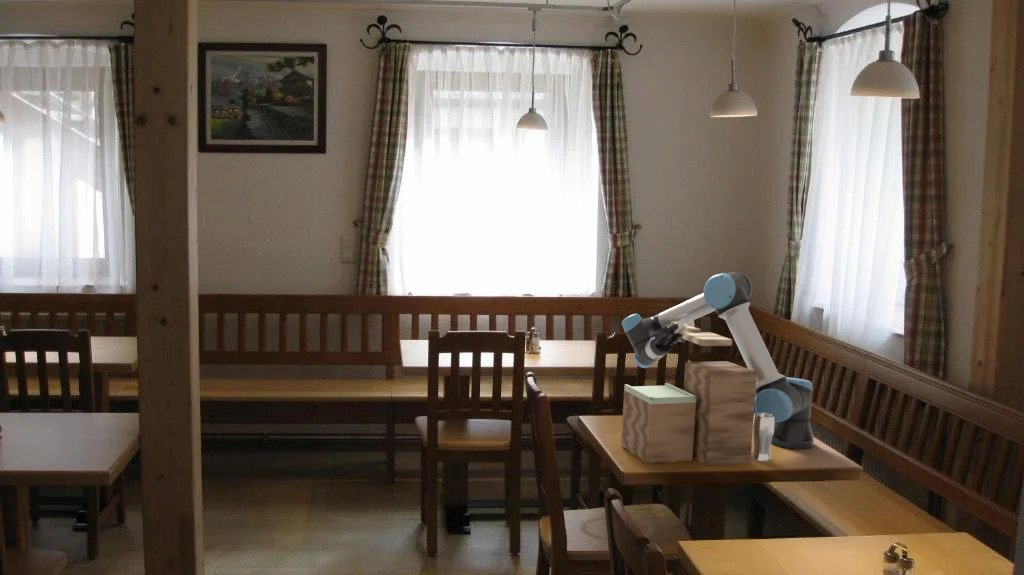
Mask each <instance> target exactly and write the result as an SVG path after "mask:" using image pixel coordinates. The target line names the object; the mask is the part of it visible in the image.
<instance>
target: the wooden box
mask: <svg viewBox="0 0 1024 575" xmlns="http://www.w3.org/2000/svg"><path fill="white" fill-rule="evenodd" d="M623 390H624V389H623ZM695 408H696V402H694V403H667V404H650V403H648V402H646V401H644V400H642V399H640V398H638V397H636V396H634V395H632V394H630V393H628V392H627V391H625V390H624V391H623V408H622V426H621V440H620V441H621V444H620V447H621V448H623V449H624V448H625V449H624V450H626V451H627V450H628V452H629V453H630V452H631V453H630V454H632V453H633V454H634V455H633V454H632V455H633V456H635V455H636V456H637V457H636V456H635V457H636V458H638V457H639V459H640V458H641V459H642V460H641V459H640V460H641V461H643V460H644V461H645V462H644V461H643V462H644V463H646V462H647V463H646V464H655V463H654V462H665V463H674V462H673V461H682V462H691V461H690V460H692V461H693V458H692V455H693V439H694V424H695ZM671 461H672V462H671Z"/></svg>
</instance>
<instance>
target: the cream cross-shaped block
mask: <svg viewBox="0 0 1024 575" xmlns="http://www.w3.org/2000/svg"><path fill="white" fill-rule="evenodd" d="M676 323H677V322H671V326H673V325H674V324H676ZM677 333H679V334H682V339H685V341H688V342H690V343H693V344H696V345H698V346H701V347H731V346H733V345H732V344H733V339H732V338H728V337H725V336H723V335H720V334H717V333H714V332H711V331H710V332H709V331H707V332H705V331H703V332H702V328H699V327H693V326H690V325H687V324H685V327H684V328H682V329H681V330H680V331H679V332H677Z"/></svg>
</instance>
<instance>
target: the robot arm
mask: <svg viewBox="0 0 1024 575" xmlns="http://www.w3.org/2000/svg"><path fill="white" fill-rule="evenodd" d="M752 293H753V283H752V281H751V279H750V278H749V276H747V275H746V274H745V273H743V272H739V271H732V272H721V273H718V274H715V275H713V276H711V277H709V278H708V279H707V281H706V282H705V284H704V287H703V292H702V293H701V294H698V295H696V296H694V297H692V298H690V299H687V300H686V301H683V302H682V303H680V304H678V305H675V306H673V307H670V308H669V309H666V310H664V311H662V312H660V313H658V314H655V315H653V316H651V317H647V318H643V317H641V315H640V314H638V313H632V314H631V315H629V316H626V317H625V318H624V319H623V320H622V321H621V325H622V328H623V330H624V333H625V334H626V336H627V338H628V340H629V342H630V344H631V347H632V348H633V350H634V354H633V360H634V361H633V362H635V365H637V366H638V367H639V368H643V369H648V368H649V367H651V366H653V365H655V364H656V363H657V362H658V361H659V360H660V359H661V358H663V357H664V356H665V355H667V354H668V353H669V352H671V350H672V349H673V347H674V345H675V344H677V343H678V342H680V343H682V344H684V343H686V340H685V339H682V334H679V333H677V332H679V331H680V330H681V329H682V328H684V327H685V324H687V325H690V326H693V327H695V320H696V319H700V318H702V317H704V316H706V315H708V314H711V313H712V312H716V314H717V317H718V318H720V319H723V320H724V321H725V322H726V325H727V327H728V329H729V331H730V334H731V335H732V337H733V340H734V342H735V344H736V345H737V348H738V349H739V350H738V351H739V353H740V354H741V356H742V359H743V361H744V363H745V365H746V368H747V369H750V370H753V371H755V372H757V378H756V392H755V395H756V401H755V406H756V410H757V412H758V413H759V412H762V413H770V414H773V415H774V416H775V427H774V435H773V439H772V443H771V445H775V446H778V447H782V448H786V449H796V450H797V449H799V450H801V449H809V448H812V447H813V446H814V441H815V440H814V436H813V430H812V427H811V413H812V411H811V410H812V399H813V391H814V390H813V382H811V381H810V380H807V379H802V378H797V377H788V376H786V375H784V374H781V373H780V372H779V371H778V369H777V367H776V365H775V362H774V361H773V359H772V357H771V354H770V352H769V350H768V348H767V346H766V343H765V342H764V340H763V338H762V335H761V333H760V331H759V329H758V327H757V325H756V322H755V321H754V319H753V316H752V315H751V313H750V310H749V307H750V304H751V302H750V300H749V299H750V298H751V296H752ZM671 322H677V323H676V324H674V325H673V326H671Z"/></svg>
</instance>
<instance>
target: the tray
mask: <svg viewBox="0 0 1024 575" xmlns="http://www.w3.org/2000/svg"><path fill="white" fill-rule="evenodd" d="M623 390H625V391H627V392H628V393H630V394H632V395H634V396H636V397H638V398H640V399H642V400H644V401H646V402H648V403H650V404H667V403H694V402H696V396H694V395H692V394H690V393H688V392H686V391H684V389H682V388H679V387H676V386H675V385H673V384H671V383H668V382H666V383H664V385H642V386H641V385H640V386H638V385H636V386H631V385H629V384H627V383H626V384H624V388H623Z"/></svg>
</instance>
